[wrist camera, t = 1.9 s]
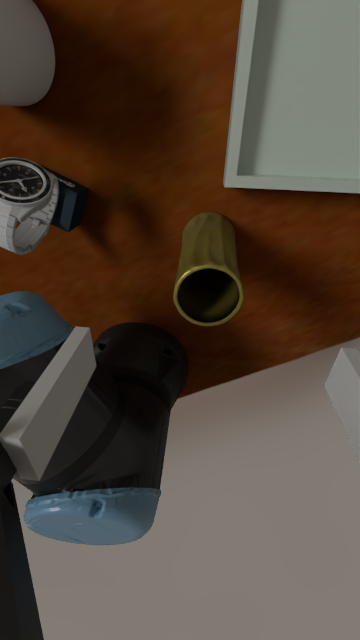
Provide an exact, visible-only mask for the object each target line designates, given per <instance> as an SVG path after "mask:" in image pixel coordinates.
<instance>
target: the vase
mask: <svg viewBox="0 0 360 640" xmlns="http://www.w3.org/2000/svg"><path fill="white" fill-rule="evenodd" d="M235 238H236V237H235V231H234V228H233V226H232V224H231V223H230V221H229V220H227V219H226V218H225V217H224V216H223V215H221V214H218V213H214V212H205V213H201V214H198V215H196V216H195V217H193V218H192V219H191V220H190V221H189V222H188V224H187V225H186V226H185V229H184V231H183V236H182V244H183V245H182V250H181V255H180V260H179V266H178V272H177V275H176V281H175V287H174V294H173V299H174V304H175V306H176V308H177V310H178V311H179V313H180V314H181V315H182V316H183V317H184V318H186V319H187V320H188V321H190V322H192V323H194V324H197V325H201V326H215V325H220V324H222V323H225V322H226V321H228V320H230V319H231V318H232V317H233V316H234V315H235V314H236V313H237V312H238V310H239V309H240V307H241V304H242V302H243V297H244V292H243V287H242V283H241V279H240V274H239V269H238V264H237V254H236V243H235Z"/></svg>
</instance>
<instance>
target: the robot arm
mask: <svg viewBox="0 0 360 640" xmlns="http://www.w3.org/2000/svg"><path fill="white" fill-rule="evenodd" d="M187 373H188V359H187V355H186V353H185V351H184V349H183V347H182V346H181V344H180V343H179V342H178V341H177V340H176V339H175V338H174V337H173V336H171V335H170V334H169V333H167V332H165V331H164V330H162V329H160V328H157V327H155V326H152V325H148V324H143V323H123V324H119V325H115V326H113V327H111V328H109V329H107V330H105V331H104V332H103V333H102V334H101V335H100V336H99V337H98V338H97V340H96V342H95V343H94V345H93V344H92V338H91V333H90V328H86V327H75V328H74V330H73V327H72V326H71V324H69V323H68V322H67V321H64V320H63V319H62V318H61V317H60V315H59V314H58V313H57V312H56V311H55V310H54V309H53V308H52V307H51V306H50V304H49V303H48V302H47V301H46V300H45V299H44V298H43V297H41V296H40V295H38V294H35V293H33V292H28V291H17V292H12V293H8V294H5V295H2V296H0V640H44V639H43V634H42V628H41V624H40V619H39V613H38V608H37V603H36V598H35V594H34V588H33V583H32V578H31V573H30V569H29V563H28V558H27V553H26V548H25V543H24V539H23V533H22V528H21V523H20V518H19V513H18V508H17V503H16V498H15V493H14V488H13V484H12V482H11V480H12V478H13V479H15V480H16V481H18V482H19V483H21V484H22V485H23V486H25V487H26V488H28V489H29V490H31V491H32V492H33V496H32V498H31V499H30V500H28V502H27V504H26V510H25V514H24V521H25V523H26V526H27V527H28V528H29V529H30V530H32V531H34V532H36V533H38V534H40V535H42V536H45V537H48V538H52V539H56V540H60V541H65V542H70V543H77V544H87V545H116V544H124V543H129V542H132V541H135V540H137V539H139V538H141V537H142V536H143V535H145V534H146V533H147V532H148V531H149V530H150V528H151V526H152V524H153V522H154V517H155V513H156V509H157V505H158V501H159V497H160V495H161V490H160V483H161V476H162V469H163V462H164V454H165V447H166V440H167V433H168V426H169V417H170V411H171V408H172V407H173V405H174V403H175V402H176V400H177V398H178V396H179V395H180V393H181V391H182V389H183V388H184V386H185V383H186V380H187ZM324 386H325V388H326V391H327V393H328V395H329V397H330V400H331V402H332V404H333V406H334V409H335V411H336V413H337V415H338V417H339V420H340V422H341V424H342V426H343V428H344V431H345V433H346V435H347V437H348V439H349V442H350V444H351V446H352V448H353V450H354V453H355V455H356V457H357V459H358V462H359V464H360V353H359V352H358V350H357V349H353V348H341V349H340V351H339V354H338V356H337V358H336V360H335V363H334V365H333V367H332V369H331V371H330V374H329V376H328V378H327V381H326V383H325V385H324Z"/></svg>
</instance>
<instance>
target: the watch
mask: <svg viewBox="0 0 360 640" xmlns="http://www.w3.org/2000/svg"><path fill="white" fill-rule="evenodd" d="M87 192H88V188H86V187H84V186H82V185H80V184H78V183H76V182H74V181H72V180H70V179H68V178H66V177H64V176H62V175H60V174H58V173H56V172H54V171H52V170H50V169H47V168H45V167H43V166H41V165H39V164H36V163H34V162H32V161H29V160H26V159H22V158H4V159H0V247H3V248H5V249H7V250H10V251H12V252H14V253H17V254H19V255H24V254H26V253H28V252H29V251H33V250H34V249H35V248H36V247H37V245H38V244H39V243H40V242H41V241H42V239H43V238H44V236H46V235H47V232H48V230H49V229H50V227H49V225H50V224H52V225H54V226H56V227H58V228H60V229H63V230H65V231H67V232H69V231H71V230H72V229H74V228H75V227H77V226H78V225H80V221H81V216H82V212H83V208H84V204H85V200H86V196H87ZM17 219H18V222H21V224H20V226H19V227H18V228H17V229H16V230H15V228H14V227H15V226H16V222H17Z"/></svg>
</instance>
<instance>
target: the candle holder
mask: <svg viewBox="0 0 360 640" xmlns="http://www.w3.org/2000/svg"><path fill="white" fill-rule="evenodd" d="M54 72H55V51H54V45H53V41H52V37H51V34H50V31H49V28H48V25H47V23H46V21H45V19H44V17H43V15H42V13H41V12H40V10H39V8H38V7H37V5H36V4H35V3H34V1H33V0H0V106H9V107H20V106H29V105H32V104H35V103H37V102H38V101H40V100H41V99H42V98H43V97H44V96H45V95H46V94H47V92H48V91H49V89H50V87H51V84H52V81H53V78H54Z"/></svg>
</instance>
